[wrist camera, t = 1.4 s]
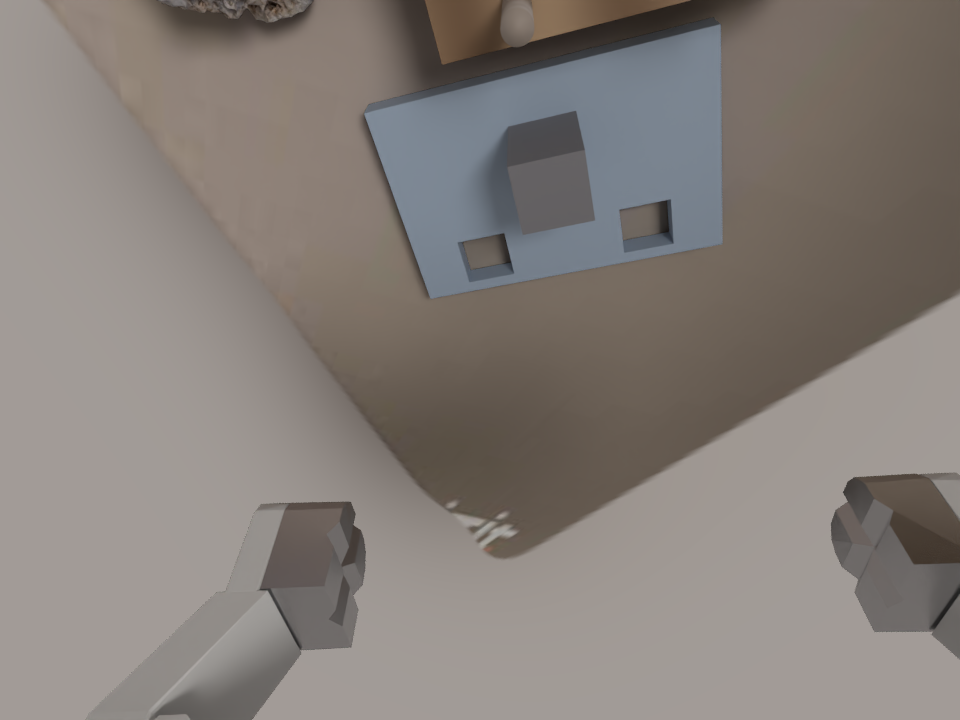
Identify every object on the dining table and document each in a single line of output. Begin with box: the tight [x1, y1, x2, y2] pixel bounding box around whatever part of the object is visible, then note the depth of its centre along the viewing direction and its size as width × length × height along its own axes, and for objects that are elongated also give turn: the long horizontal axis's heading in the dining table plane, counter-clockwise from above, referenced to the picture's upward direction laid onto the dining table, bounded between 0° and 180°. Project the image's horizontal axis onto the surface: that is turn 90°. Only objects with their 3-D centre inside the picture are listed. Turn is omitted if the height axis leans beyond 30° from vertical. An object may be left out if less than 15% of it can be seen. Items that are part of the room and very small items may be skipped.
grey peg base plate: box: [364, 17, 722, 299], centre depth 28 cm, size 15×10×6 cm, turn 104°
